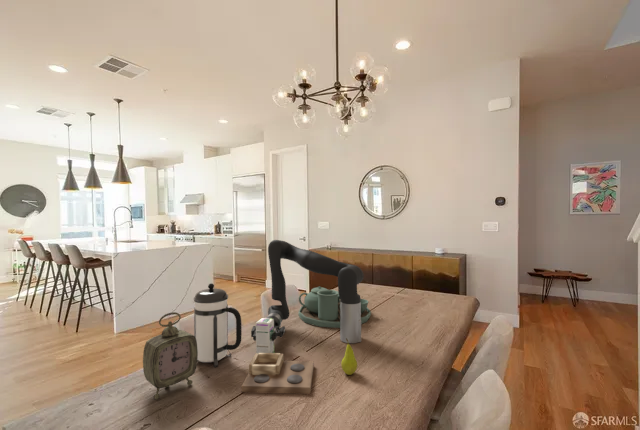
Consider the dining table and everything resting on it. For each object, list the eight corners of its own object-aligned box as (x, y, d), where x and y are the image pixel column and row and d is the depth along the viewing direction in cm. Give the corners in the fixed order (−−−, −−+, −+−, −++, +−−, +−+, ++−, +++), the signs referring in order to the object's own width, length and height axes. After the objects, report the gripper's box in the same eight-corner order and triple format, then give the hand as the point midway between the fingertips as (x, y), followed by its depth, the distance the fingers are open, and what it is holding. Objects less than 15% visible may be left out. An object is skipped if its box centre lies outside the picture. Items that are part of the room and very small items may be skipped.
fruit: (353, 379, 110) (353, 344, 110) (338, 375, 113) (338, 341, 113) (360, 372, 115) (360, 339, 115) (345, 368, 118) (345, 336, 118)
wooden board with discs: (313, 366, 119) (313, 353, 119) (310, 393, 101) (310, 378, 101) (255, 365, 120) (255, 352, 120) (241, 392, 102) (241, 376, 102)
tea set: (382, 324, 165) (382, 292, 165) (307, 332, 155) (306, 298, 154) (355, 303, 203) (354, 277, 203) (292, 308, 193) (292, 281, 193)
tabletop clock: (152, 404, 96) (152, 321, 96) (140, 393, 102) (140, 315, 102) (197, 384, 107) (197, 310, 107) (184, 375, 113) (184, 305, 113)
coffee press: (193, 374, 114) (193, 290, 114) (189, 356, 128) (188, 281, 128) (242, 363, 122) (241, 285, 122) (232, 347, 136) (232, 277, 136)
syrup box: (269, 360, 125) (269, 323, 125) (255, 358, 126) (255, 322, 126) (274, 353, 130) (274, 318, 130) (261, 352, 132) (260, 317, 132)
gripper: (256, 315, 143) (245, 328, 126) (288, 315, 142) (282, 329, 125) (256, 332, 143) (245, 347, 126) (288, 332, 142) (282, 348, 126)
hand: (263, 338), depth 126 cm, fingers closed on syrup box, 6 cm apart
